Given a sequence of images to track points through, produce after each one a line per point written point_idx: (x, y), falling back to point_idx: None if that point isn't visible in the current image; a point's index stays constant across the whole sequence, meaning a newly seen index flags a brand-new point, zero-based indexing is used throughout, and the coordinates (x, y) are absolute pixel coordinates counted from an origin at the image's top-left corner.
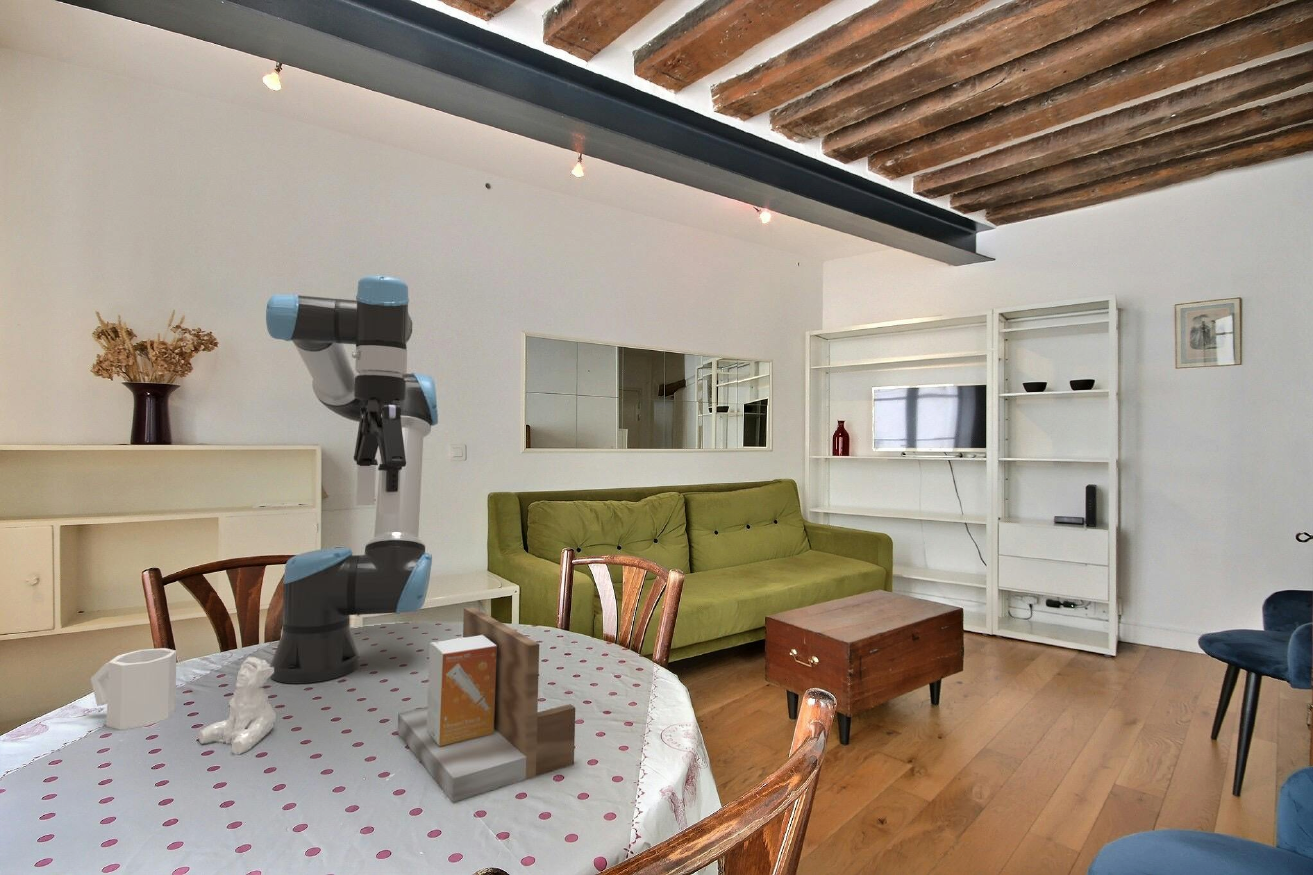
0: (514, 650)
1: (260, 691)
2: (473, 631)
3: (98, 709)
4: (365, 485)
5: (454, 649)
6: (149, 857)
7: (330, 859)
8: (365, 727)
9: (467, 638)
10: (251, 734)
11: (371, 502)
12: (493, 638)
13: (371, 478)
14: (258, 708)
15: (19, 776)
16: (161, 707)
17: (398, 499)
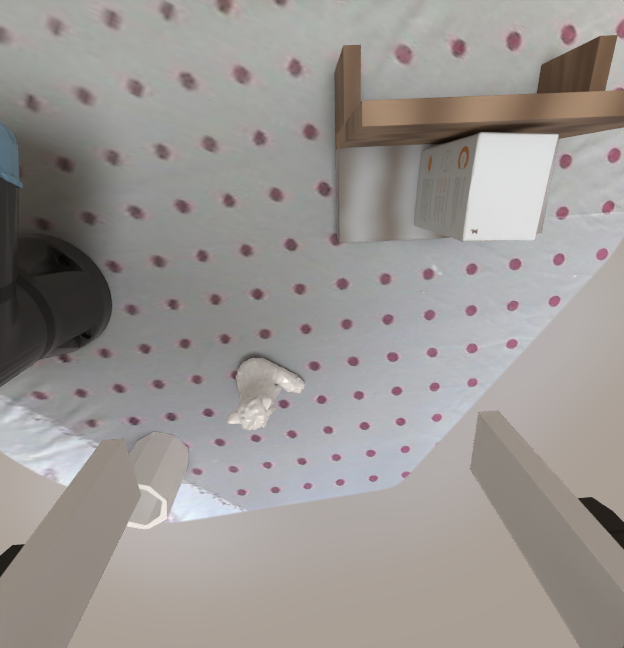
0: (621, 119)
1: (265, 393)
2: (413, 129)
3: None
4: (87, 557)
5: (529, 216)
6: (442, 429)
7: (531, 335)
8: (300, 269)
9: (485, 171)
10: (294, 381)
11: (120, 457)
12: (522, 123)
13: (50, 577)
14: (273, 385)
15: (258, 506)
16: (174, 449)
17: (535, 455)
